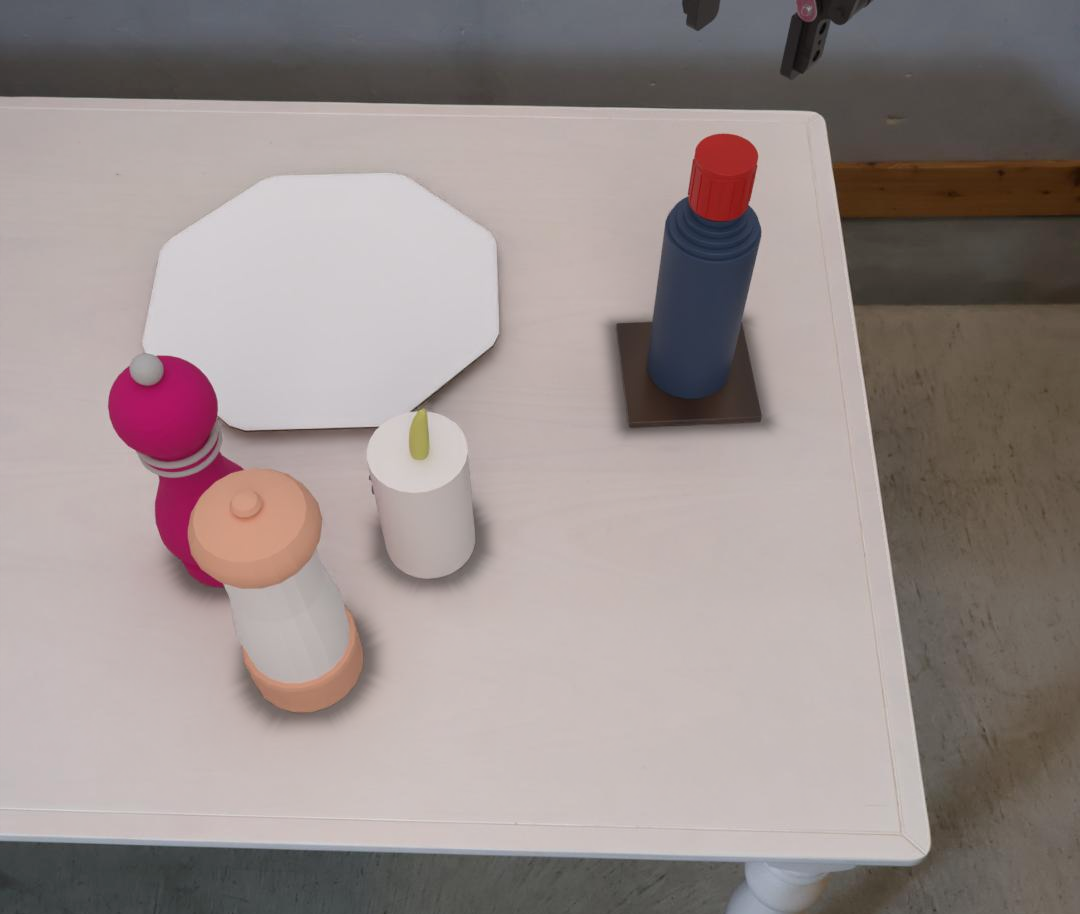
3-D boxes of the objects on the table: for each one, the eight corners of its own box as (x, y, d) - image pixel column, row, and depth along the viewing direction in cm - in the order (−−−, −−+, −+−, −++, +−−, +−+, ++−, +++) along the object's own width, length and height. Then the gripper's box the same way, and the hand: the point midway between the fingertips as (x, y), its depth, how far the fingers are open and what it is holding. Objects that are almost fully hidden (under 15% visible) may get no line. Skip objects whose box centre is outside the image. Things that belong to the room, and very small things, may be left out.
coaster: (740, 322, 89) (741, 317, 88) (760, 421, 83) (762, 417, 83) (615, 328, 88) (616, 322, 88) (628, 428, 83) (629, 423, 83)
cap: (743, 179, 73) (753, 131, 70) (753, 221, 71) (763, 174, 68) (684, 181, 73) (690, 133, 69) (691, 223, 71) (699, 176, 67)
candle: (400, 493, 80) (374, 354, 67) (486, 513, 79) (477, 376, 66) (369, 565, 77) (337, 434, 64) (459, 588, 76) (444, 459, 63)
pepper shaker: (326, 731, 70) (263, 582, 54) (230, 684, 72) (142, 525, 56) (384, 639, 74) (342, 472, 57) (291, 596, 75) (225, 422, 59)
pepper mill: (159, 536, 78) (54, 344, 61) (252, 489, 80) (176, 291, 63) (202, 612, 75) (103, 432, 58) (298, 562, 77) (231, 373, 60)
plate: (129, 445, 82) (123, 432, 81) (178, 190, 96) (173, 176, 95) (502, 434, 83) (501, 421, 81) (494, 182, 97) (494, 169, 96)
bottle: (723, 334, 87) (768, 125, 71) (735, 397, 84) (785, 193, 67) (642, 337, 87) (668, 128, 70) (651, 401, 84) (680, 197, 67)
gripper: (629, -323, 49) (607, 25, 64) (906, -215, 44) (815, 135, 59) (730, -374, 52) (687, -31, 67) (1001, -279, 47) (892, 70, 62)
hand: (747, 45), depth 63 cm, fingers open, 6 cm apart
